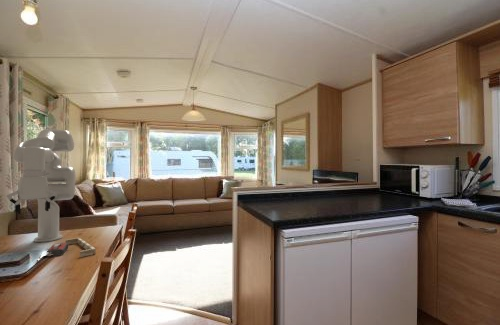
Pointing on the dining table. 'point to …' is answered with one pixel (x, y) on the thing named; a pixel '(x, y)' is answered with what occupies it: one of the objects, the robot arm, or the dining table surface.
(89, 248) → the beige segmented bracket
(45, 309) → the dining table surface
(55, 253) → the walkie-talkie
